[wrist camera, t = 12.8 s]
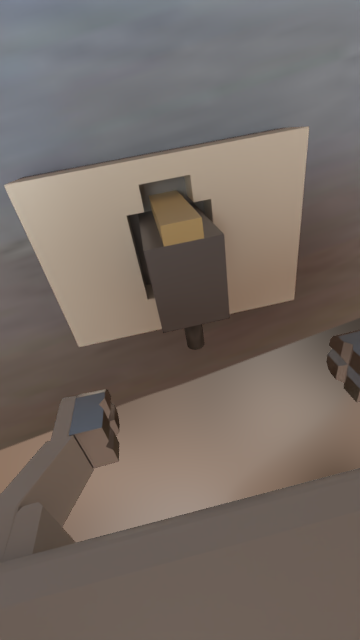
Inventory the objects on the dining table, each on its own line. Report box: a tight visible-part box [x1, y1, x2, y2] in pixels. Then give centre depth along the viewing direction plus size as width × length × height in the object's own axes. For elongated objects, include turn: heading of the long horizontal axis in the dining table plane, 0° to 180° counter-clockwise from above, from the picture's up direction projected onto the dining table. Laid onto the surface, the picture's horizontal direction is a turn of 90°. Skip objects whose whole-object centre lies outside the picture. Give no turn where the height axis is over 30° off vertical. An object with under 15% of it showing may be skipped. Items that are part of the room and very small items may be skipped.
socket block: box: [4, 127, 309, 347], centre depth 21 cm, size 12×18×4 cm, turn 99°
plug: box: [138, 190, 230, 350], centre depth 19 cm, size 9×4×8 cm, turn 9°
